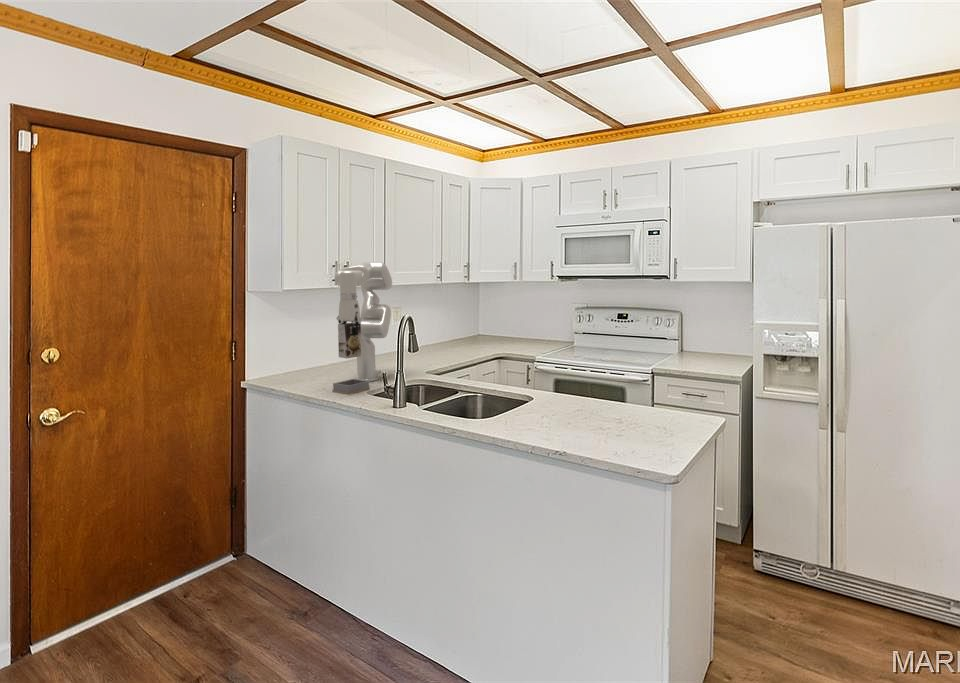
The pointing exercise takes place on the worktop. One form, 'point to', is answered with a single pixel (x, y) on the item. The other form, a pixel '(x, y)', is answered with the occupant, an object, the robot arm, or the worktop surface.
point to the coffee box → (349, 341)
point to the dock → (351, 386)
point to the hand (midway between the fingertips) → (349, 334)
